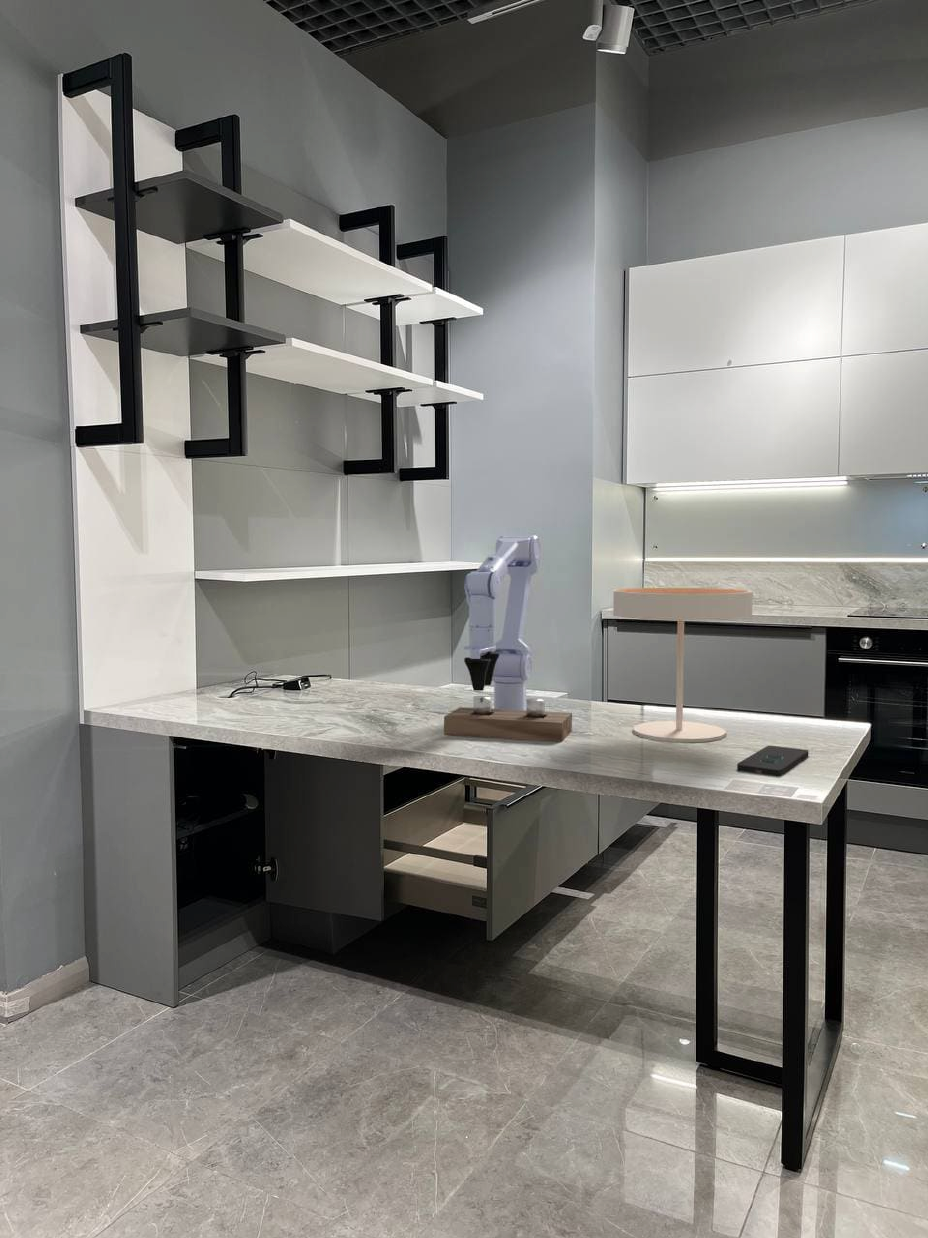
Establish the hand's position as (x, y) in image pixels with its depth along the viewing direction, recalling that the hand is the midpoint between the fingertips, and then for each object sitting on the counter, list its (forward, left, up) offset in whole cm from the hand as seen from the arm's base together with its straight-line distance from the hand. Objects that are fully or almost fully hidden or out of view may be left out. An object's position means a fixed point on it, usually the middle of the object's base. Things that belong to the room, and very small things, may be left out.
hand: (482, 687), depth 207 cm
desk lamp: (-10, +42, -10) cm, 44 cm away
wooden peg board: (0, +6, -10) cm, 11 cm away
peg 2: (0, +12, -6) cm, 13 cm away
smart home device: (+14, +61, -11) cm, 63 cm away
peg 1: (0, 0, -6) cm, 6 cm away
